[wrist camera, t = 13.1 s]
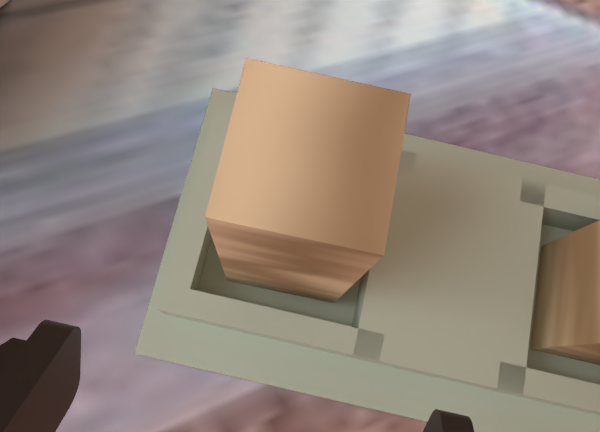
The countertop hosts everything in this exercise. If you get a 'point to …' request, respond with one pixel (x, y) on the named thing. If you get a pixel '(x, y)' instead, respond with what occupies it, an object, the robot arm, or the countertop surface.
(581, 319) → the block
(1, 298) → the countertop surface
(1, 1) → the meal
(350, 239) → the block
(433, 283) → the green slotted tray
